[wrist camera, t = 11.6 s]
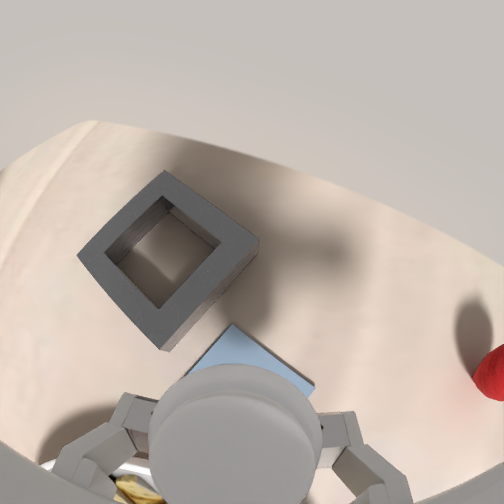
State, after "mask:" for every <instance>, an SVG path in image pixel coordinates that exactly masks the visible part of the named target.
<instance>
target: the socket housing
mask: <svg viewBox="0 0 504 504" xmlns="http://www.w3.org/2000/svg"><path fill="white" fill-rule="evenodd" d="M168 212H170V213H171V214H172V215H174V216H175V217H176V218H177V219H179V220H180V221H181V222H182V223H184V224H185V225H186V226H187V227H188V228H190V229H191V230H192V231H193V232H195V233H196V234H197V235H198V236H200V237H201V238H202V239H203V240H205V241H206V242H207V243H208V244H209V245H211V246H212V247H213V248H214V249H215V250H214V251H213V252H212V253H211V254H210V255H209V256H208V257H207V258H206V259H205V260H204V262H203V263H202V264H201V265H200V266H199V267H198V268H197V269H196V270H195V271H194V272H193V273H192V274H191V275H190V276H189V277H188V279H187V280H186V281H185V282H184V283H183V284H182V285H181V286H180V287H179V288H178V289H177V290H176V291H175V293H174V294H173V295H172V296H171V297H170V298H169V299H168V300H167V301H166V302H165V303H164V305H163V306H162V307H161V308H160V309H159V308H158V307H157V306H156V305H155V304H154V303H153V302H152V301H151V300H150V299H149V298H148V297H147V296H146V295H145V294H144V293H143V292H142V291H141V290H140V289H139V288H138V287H137V286H136V285H135V284H134V283H133V282H132V281H131V280H130V279H129V278H128V277H127V276H126V274H125V273H124V272H123V271H122V270H121V269H120V268H119V267H118V266H117V264H118V263H119V261H120V260H121V259H122V258H123V257H124V256H125V255H126V254H127V253H128V252H129V251H130V250H131V249H132V248H133V247H134V246H135V245H136V244H137V243H138V242H139V241H140V240H141V239H142V238H143V237H144V236H145V235H146V234H147V233H148V232H149V231H150V230H151V229H152V228H153V227H154V226H155V225H156V224H157V223H158V222H159V221H160V220H161V219H162V218H163V217H164V216H165V215H166V214H167V213H168ZM258 246H259V239H258V238H257V237H256V236H254V235H253V234H252V233H250V232H249V231H248V230H246V229H245V228H243V227H242V226H241V225H239V224H238V223H237V222H235V221H234V220H233V219H231V218H230V217H229V216H227V215H226V214H224V213H223V212H222V211H220V210H219V209H218V208H216V207H215V206H214V205H212V204H211V203H209V202H208V201H207V200H205V199H204V198H203V197H201V196H200V195H199V194H197V193H196V192H194V191H193V190H192V189H190V188H189V187H187V186H186V185H185V184H183V183H182V182H181V181H179V180H178V179H176V178H175V177H174V176H172V175H171V174H169V173H168V172H167V171H165V170H164V171H163V172H162V173H160V174H159V175H158V176H157V177H156V178H155V179H154V180H152V181H151V182H150V183H149V184H148V185H147V186H146V187H144V188H143V189H142V190H141V191H140V192H139V193H138V194H137V195H136V196H135V197H133V198H132V199H131V200H130V201H129V202H128V203H127V204H126V205H125V206H124V207H123V208H122V209H121V210H120V211H119V212H118V213H117V214H116V215H115V216H113V217H112V218H111V219H110V220H109V221H108V222H107V223H106V224H105V225H104V226H103V227H102V229H101V230H100V231H99V232H98V233H97V234H96V235H95V236H94V237H93V238H92V239H91V240H90V241H89V242H88V243H87V244H86V245H85V246H84V247H83V249H82V250H81V251H80V252H79V253H78V254H77V257H78V258H79V259H80V261H81V262H82V263H83V265H84V266H85V267H86V268H87V270H88V271H89V272H90V273H91V275H92V276H93V277H94V278H95V280H96V281H97V282H98V283H99V285H100V286H101V287H102V288H103V289H104V291H105V292H106V293H107V294H108V295H109V296H110V298H111V299H112V300H113V301H114V302H115V303H116V304H117V306H118V307H119V308H120V309H121V310H122V311H123V312H124V313H125V314H126V316H127V317H128V318H129V319H130V320H131V321H132V322H133V323H134V324H135V325H136V326H137V327H138V328H139V329H140V330H141V331H142V333H143V334H144V335H145V336H146V337H147V338H148V339H149V340H150V341H151V342H152V343H153V344H154V345H155V346H156V347H157V348H158V349H159V350H163V351H167V352H170V351H171V350H172V349H173V348H174V346H175V345H176V344H177V343H178V342H179V341H180V340H181V339H182V338H183V336H184V335H185V334H186V333H187V332H188V331H189V330H190V329H191V327H192V326H193V325H194V324H195V323H196V322H197V321H198V320H199V319H200V317H201V316H202V315H203V314H204V313H205V312H206V311H207V310H208V309H209V307H210V306H211V305H212V304H213V303H214V302H215V301H216V300H217V298H218V297H219V296H220V295H221V294H222V293H223V292H224V291H225V290H226V288H227V287H228V286H229V285H230V284H231V283H232V282H233V281H234V279H235V278H236V277H237V276H238V275H239V274H240V273H241V272H242V270H243V269H244V268H245V267H246V266H247V265H248V264H249V263H250V262H251V260H252V259H253V258H254V257H255V256H256V255H257V254H258Z"/></svg>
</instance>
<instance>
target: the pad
mask: <svg viewBox="0 0 504 504" xmlns="http://www.w3.org/2000/svg"><path fill="white" fill-rule="evenodd" d="M219 364H247V365H252V366H256V367H260V368H263V369H266V370H269V371H271V372H274V373H276V374H278V375H280V376H282V377H283V378H285V379H287V380H288V381H290V382H291V383H292V384H294V385H295V386H296V387H297V388H298V389H299V390H300V391H301V392H302V393H303V394H304V395H305V396H306V397H307V398H308V397H309V396H310V395H311V393H312V392H313V391H314V389H315V387H314V386H312V385H311V384H310V383H308V382H307V381H305V380H304V379H303V378H301V377H300V376H299V375H297V374H296V373H295V372H293V371H292V370H291V369H289V368H288V367H287V366H285V365H284V364H283V363H281V362H280V361H279V360H277V359H276V358H275V357H273V356H272V355H271V354H270V353H268V352H267V351H266V350H264V349H263V348H262V347H261V346H259V345H258V344H257V343H256V342H254V341H253V340H252V339H250V338H249V337H248V336H247V335H246V334H244V333H243V332H242V331H241V330H239V329H238V328H237V327H236V326H234V325H233V324H232V325H231V326H230V327H229V328H228V329H227V331H226V332H225V333H224V334H223V335H222V336H221V337H220V338H219V340H218V341H217V342H216V343H215V344H214V345H213V346H212V348H211V349H210V350H209V351H208V352H207V353H206V354H205V355H204V357H203V358H202V359H201V360H200V361H199V362H198V363H197V364H196V365H195V367H194V368H193V369H192V370H191V371H190V372H189V373H188V374H190V373H193V372H195V371H197V370H200V369H203V368H206V367H210V366H214V365H219ZM188 374H187V375H188ZM187 375H186V376H187Z"/></svg>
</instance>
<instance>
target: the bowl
mask: <svg viewBox="0 0 504 504" xmlns="http://www.w3.org/2000/svg"><path fill="white" fill-rule="evenodd" d="M55 461H56V459H54V460H51V461H48V462H45V463H43V464H41V465H40V466H41V467H43V468H45V469H46V470H48V471H50V472H51V470H52V468H53V465H54V463H55ZM108 477H109V478H110V480H111V481H112V482H113V483H114V484H115V485H116V487H117V490H116V493H115V497H114V500H116V501H118V502H121V503H124V504H168V503H167V502H166V501H165V500H164V499H163V498H162V496H161V495H160V493H159V492H158V490H157V489H156V487H155V485H154V482H153V480H152V477H151V474H150V468H149V460H147V459H142V458H137V457H131V458H130V459H129V460H128V461H126V462H125V463H124V464H123V465H121V466H120V467H119V468H118V469H116V470H115V471H114V472H113V473H111V474H110V475H109V476H108Z"/></svg>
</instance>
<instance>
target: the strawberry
mask: <svg viewBox="0 0 504 504" xmlns="http://www.w3.org/2000/svg"><path fill="white" fill-rule="evenodd" d="M473 382H474V383H475V384H476V386H477V388H478V389H479V390H480V391H481V392H482V393H483V394H484V395H485V396H486V397H488V398H491V399H494V400H497V401H504V344H502V345H501V346H499V347H497V348H496V349H494V350H493V351H491V352H490V353H489V354H487V355H486V357H485V358H484V359H483V361H482V362H481V363H480V365H479V366H478V368H477V370H476V372H475V373H474V375H473Z"/></svg>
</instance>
